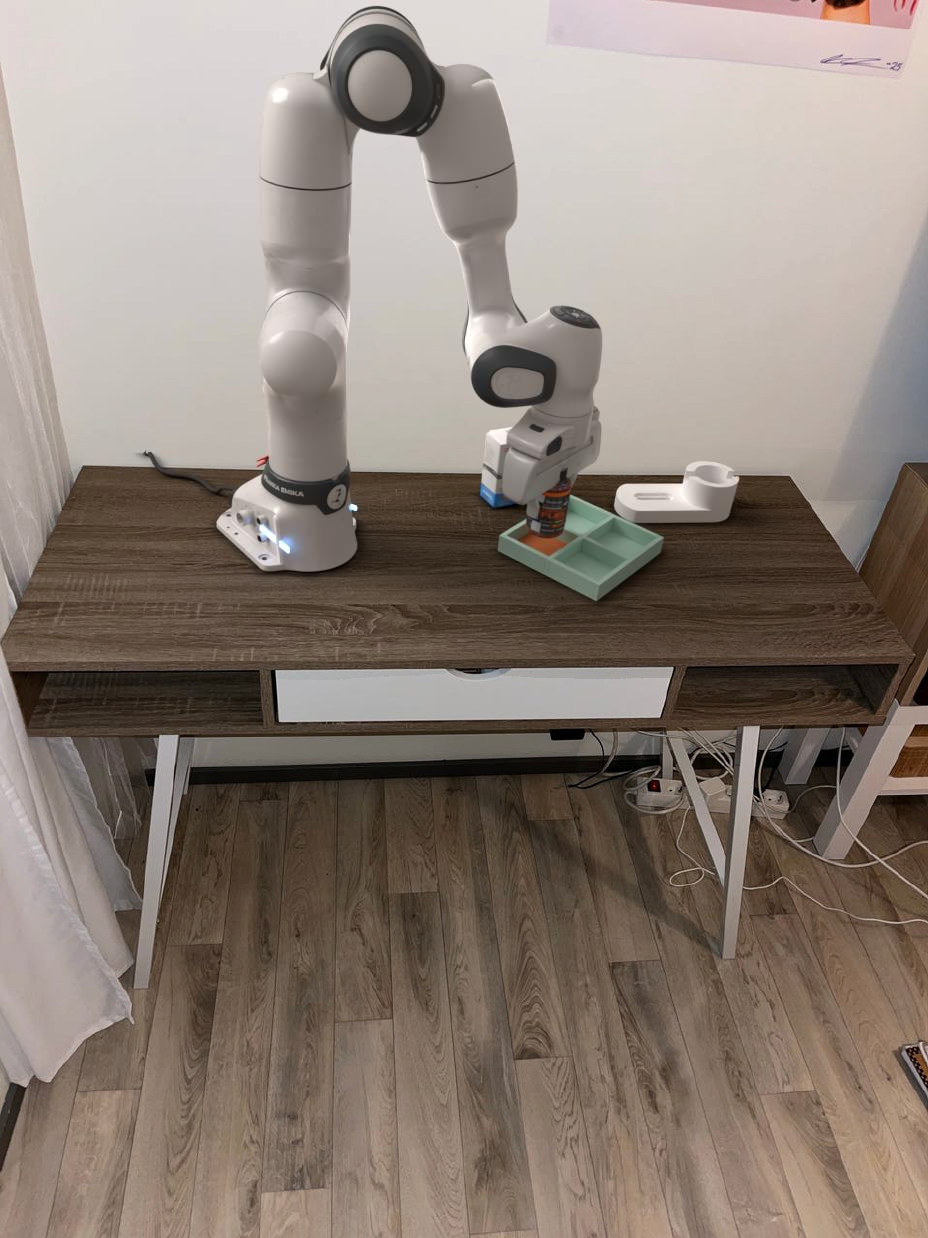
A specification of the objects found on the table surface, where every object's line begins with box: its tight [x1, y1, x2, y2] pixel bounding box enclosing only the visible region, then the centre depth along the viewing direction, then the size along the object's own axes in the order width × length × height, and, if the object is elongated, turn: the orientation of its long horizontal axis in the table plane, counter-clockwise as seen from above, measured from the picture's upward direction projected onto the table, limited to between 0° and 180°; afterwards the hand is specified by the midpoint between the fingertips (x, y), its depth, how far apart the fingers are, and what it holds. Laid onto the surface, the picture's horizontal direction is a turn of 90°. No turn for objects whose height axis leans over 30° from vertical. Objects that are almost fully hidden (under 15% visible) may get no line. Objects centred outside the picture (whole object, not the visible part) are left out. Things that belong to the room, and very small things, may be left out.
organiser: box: [497, 494, 665, 602], centre depth 156 cm, size 18×18×3 cm
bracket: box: [613, 460, 740, 524], centre depth 168 cm, size 20×9×7 cm, turn 98°
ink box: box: [479, 426, 517, 509], centre depth 166 cm, size 9×5×12 cm, turn 118°
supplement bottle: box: [525, 467, 572, 538], centre depth 151 cm, size 6×6×11 cm
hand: (547, 506), depth 152 cm, fingers closed on supplement bottle, 6 cm apart
